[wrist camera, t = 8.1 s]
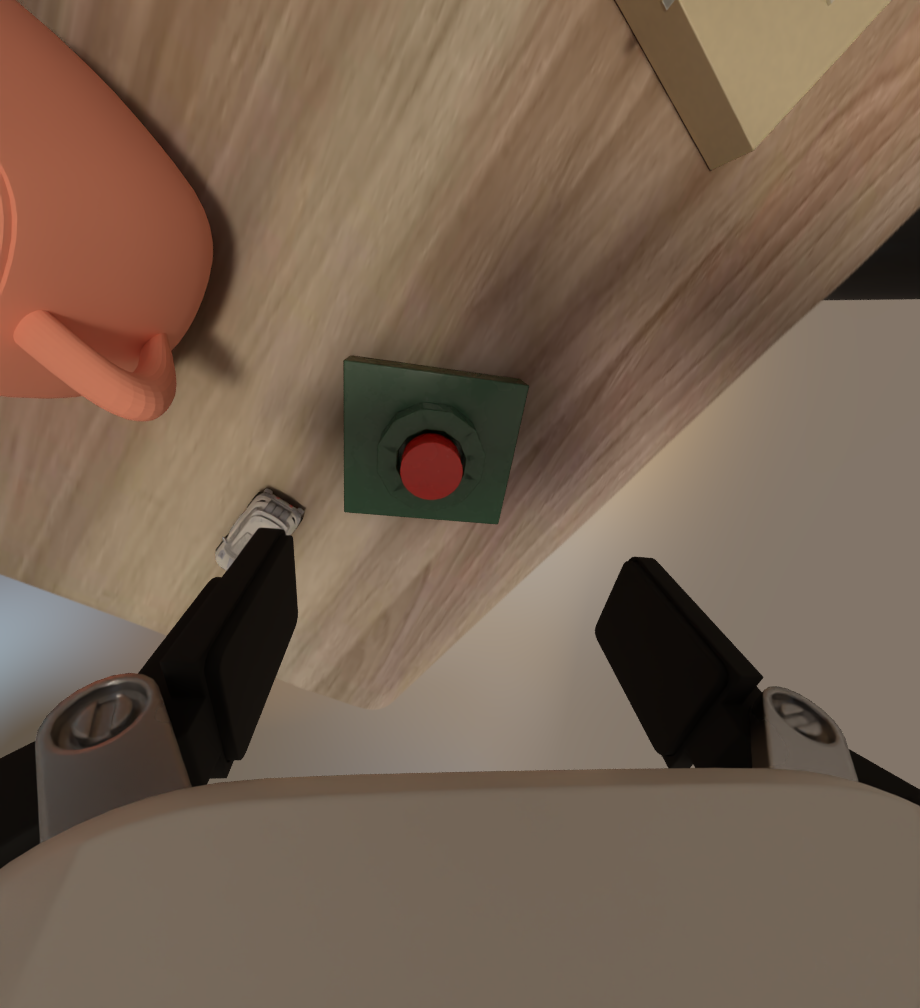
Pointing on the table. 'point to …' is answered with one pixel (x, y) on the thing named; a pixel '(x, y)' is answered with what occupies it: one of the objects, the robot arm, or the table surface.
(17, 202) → the teapot
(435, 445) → the red button
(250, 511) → the toy car
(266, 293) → the table surface
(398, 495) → the button box
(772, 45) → the control panel
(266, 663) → the robot arm
